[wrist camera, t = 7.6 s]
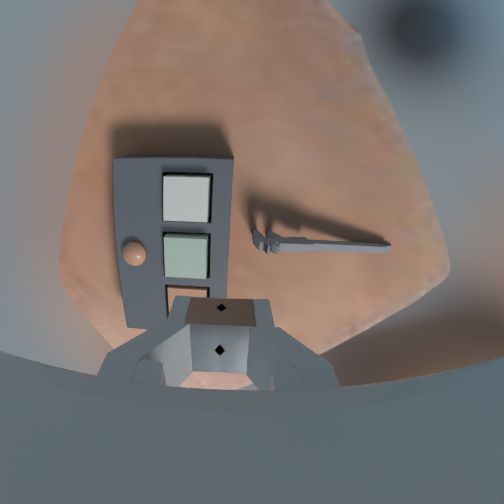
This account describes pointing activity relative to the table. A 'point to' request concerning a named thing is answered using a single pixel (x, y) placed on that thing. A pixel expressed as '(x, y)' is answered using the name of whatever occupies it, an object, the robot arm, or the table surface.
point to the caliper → (312, 244)
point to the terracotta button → (185, 292)
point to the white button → (186, 197)
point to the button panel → (165, 231)
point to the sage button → (186, 254)
